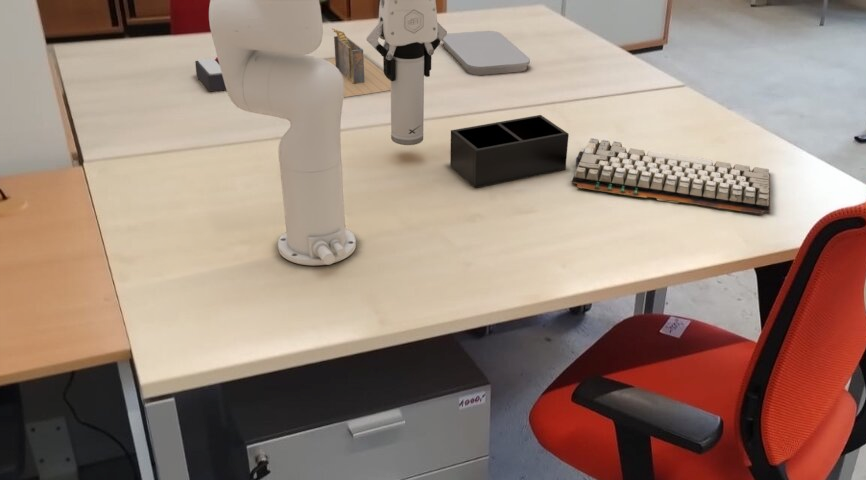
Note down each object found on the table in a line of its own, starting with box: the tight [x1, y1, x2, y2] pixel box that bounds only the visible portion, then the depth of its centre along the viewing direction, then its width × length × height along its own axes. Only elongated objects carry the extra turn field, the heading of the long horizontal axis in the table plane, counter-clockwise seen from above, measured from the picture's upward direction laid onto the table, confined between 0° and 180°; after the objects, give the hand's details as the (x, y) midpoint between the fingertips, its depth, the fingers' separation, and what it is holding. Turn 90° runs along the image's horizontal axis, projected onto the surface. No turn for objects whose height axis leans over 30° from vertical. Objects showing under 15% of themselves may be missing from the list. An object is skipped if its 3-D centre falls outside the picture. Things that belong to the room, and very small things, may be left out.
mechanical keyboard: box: [571, 137, 771, 215], centre depth 181 cm, size 38×19×3 cm, turn 77°
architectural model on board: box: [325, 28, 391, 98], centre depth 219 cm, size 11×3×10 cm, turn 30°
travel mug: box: [390, 42, 425, 146], centre depth 178 cm, size 6×7×20 cm
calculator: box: [194, 56, 227, 92], centre depth 216 cm, size 11×4×15 cm
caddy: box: [449, 114, 569, 189], centre depth 182 cm, size 10×20×8 cm, turn 119°
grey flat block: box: [441, 30, 531, 76], centre depth 237 cm, size 16×26×2 cm, turn 21°
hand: (407, 75), depth 177 cm, fingers closed on travel mug, 6 cm apart
